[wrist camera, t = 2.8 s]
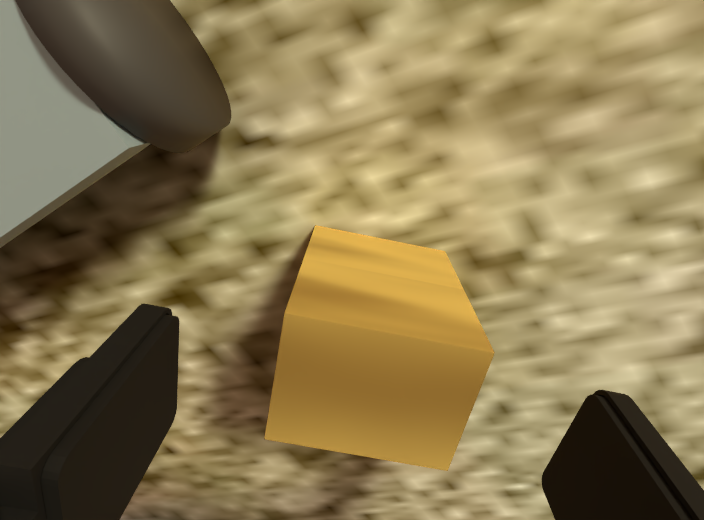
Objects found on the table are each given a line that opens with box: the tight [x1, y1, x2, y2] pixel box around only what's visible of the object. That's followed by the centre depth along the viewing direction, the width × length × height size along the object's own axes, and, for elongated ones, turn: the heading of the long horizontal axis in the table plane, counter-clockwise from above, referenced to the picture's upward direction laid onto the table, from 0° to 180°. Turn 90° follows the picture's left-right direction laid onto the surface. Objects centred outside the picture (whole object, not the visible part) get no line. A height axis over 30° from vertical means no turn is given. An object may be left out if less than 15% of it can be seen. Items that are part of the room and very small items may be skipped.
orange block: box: [264, 225, 494, 471], centre depth 13 cm, size 6×4×6 cm
